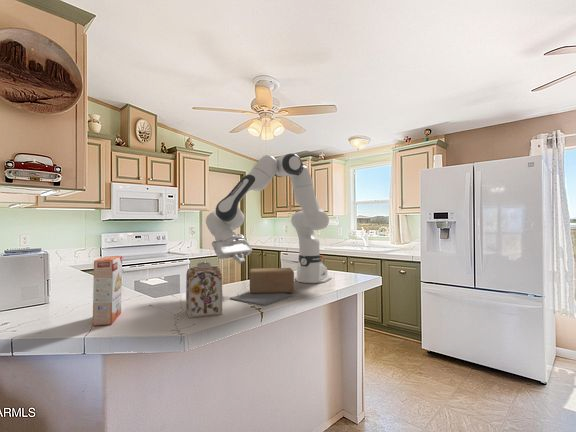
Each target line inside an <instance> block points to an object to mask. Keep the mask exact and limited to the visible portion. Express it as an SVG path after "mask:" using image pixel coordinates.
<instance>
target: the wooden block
mask: <svg viewBox="0 0 576 432" xmlns="http://www.w3.org/2000/svg"><path fill="white" fill-rule="evenodd" d="M294 291H295V271H294V270H293V269H292V268H291V267H276V268H275V267H269V268H266V267H265V268H263V267H262V268H250V269H249V292H250V293H251V294H261V293H286V294H292V293H294Z"/></svg>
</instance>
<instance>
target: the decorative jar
mask: <svg viewBox="0 0 576 432" xmlns="http://www.w3.org/2000/svg"><path fill="white" fill-rule="evenodd" d="M185 277H186V278H185V279H186V281H185V282H186V283H185V285H186V286H185V289H186V290H185V303H186V304H185V307H186V308H185V309H186V313H187V316H188V319H193V318H194V319H195V318H202V317H212V316H219V315H220V316H221V315H222V314H223V276H222V272H221V269H220V268H219V267H218V266H211V262H208V261H207V262H205V261H202V262H197V264H196V266H194V267H190V268H187V271H186V276H185Z"/></svg>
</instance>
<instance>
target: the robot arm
mask: <svg viewBox="0 0 576 432" xmlns="http://www.w3.org/2000/svg"><path fill="white" fill-rule="evenodd" d="M274 176H275V177H277V178H283V177H289V178H290V180H291V183H292V189H293V195H294V200H295V202H296V203H297V204H298V205H299V206H300V208H301V210H299V211H295V212H294V213H293V214H292V216H291V218H290V222H291V224H292V227H294V230H295V231H296V234H297V237H298V238H297V239H298V242H299V243H298V246H299V254H298V264H297V265H296V276H294V280H296V281H297V282H299V283H305V284H306V283H307V284H316V283H323V284H324V283H326V282H327V281H330V280H331V279H333V278H332V276H330V275H328V267H327V266H326V265H324V263H323V262H322V260H323V259H324V255H322V254H320V240H319V239H318V237H316V234H315V231H320V230H324V229H326V228H327V227H328V226H329V223H330V218H329V214H328V213H327V212H326V211H324V210H323V208H322V207H321V205H320V203H319V202H318V200H317V197H316V193H315V190H314V184H313V183H314V182H313V179H312V176H311V173H310V169H309V168H308V166H306V165H304V163H303V161H302V159H301V157H300V156H299V155H298V154H296V153H287V154H282V155H280V156H279V157H273V156H272V155H270V154H265V155H263V156H261V158H260V159H259V160H258V161H257V162H256V163H255V165H253V167H252V169H251V170H250V171H249V173H248V174H246V175H244V176H243V177H242V178H241V179H240V180H239V181H238V183H237V184H236V185H234V187H233V188H232V190H231V191H230V192H229V193H228V194H227V195H226V196H225V197H224V198H223V199H221V200H219V202H218V203H217V204H216V206H215V211H212V212H210V213H209V214H208V215H207V216H206V218H205V225H206V227H207V229H208V230H209V233H210V234H211V235H212V236H213V237H214V238H215V240H213V241H212V242H211V246H212V247H213V252H214V253H215V255H216V257H217V258H218V259H220V260H224V259H231V258H232V259H233V260H235V261H236V262H237V263H238V264H239V265H240V264H245V262H246V259H245V258H244V257H246V256H249V255H251V253H252V252H253V248H252V245H250V243H249V242H248V241H247V239H245V236H244V235H243V234H241V233H237V232H235V231H234V230H237V229H238V228H240V227H241V226H243V224H244V223H245V219H246V217H245V214H244V213H243V212H242V210H241V209H240V208H239V204H240V202H241V201H242V199H244V197H245V196H246V195H247V193H249V192H250V191H256V192H257V191H258V192H260V191H264V190H265V189H266V188H267V187H268V185H269V184H270V183H271V181H272V179H273V178H274Z"/></svg>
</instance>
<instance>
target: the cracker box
mask: <svg viewBox="0 0 576 432" xmlns="http://www.w3.org/2000/svg"><path fill="white" fill-rule="evenodd" d="M122 278H123V256H122V255H108V256H107V255H106V256H103V257H100V258H98V259H95V260H93V287H92V288H93V293H92V294H93V295H92V296H93V297H92V326H93V327H95V326H108V325H109V326H110V325H113V323H114V322H115V321H116V319H118V317H119V316H120V314H121V313H122V291H123V290H122V288H123V287H122V284H123V283H122V282H123V281H122V280H123V279H122Z"/></svg>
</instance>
